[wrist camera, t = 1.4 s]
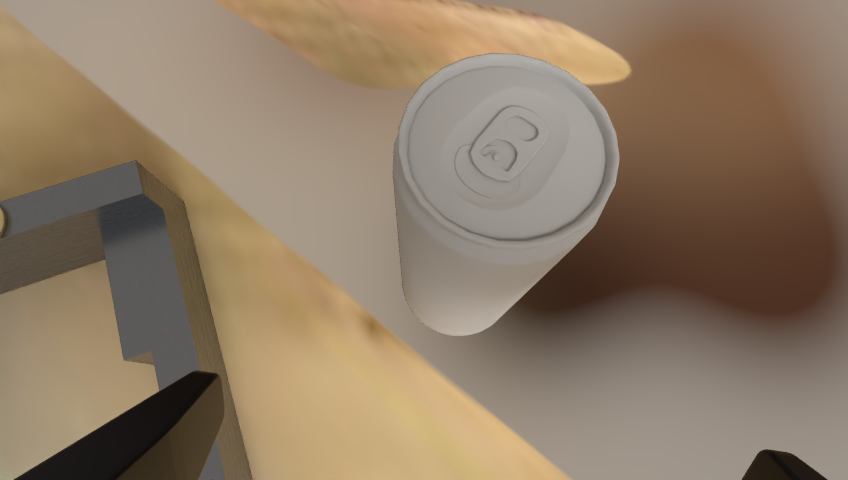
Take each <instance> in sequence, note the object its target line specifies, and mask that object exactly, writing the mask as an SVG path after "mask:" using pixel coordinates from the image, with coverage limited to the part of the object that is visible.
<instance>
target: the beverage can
mask: <svg viewBox="0 0 848 480" xmlns="http://www.w3.org/2000/svg"><path fill="white" fill-rule="evenodd" d="M619 159H620V158H619V151H618V144H617V137H616V132H615V130H614V127H613V125H612V123H611V121H610V118H609V116H608V114H607V112H606V109H605V108H604V107H603V106H602V104H601V103H600V102H599V101H598V99H597V98H596V97H595V96H594V94H593V93H592V92H591V90H590V89H589V88H588V87H586V86H585V85H584V84H583V83H581V82H580V81H579V80H577V79H576V78H575V77H574V76H572V75H571V74H570V73H569V72H567V71H565V70H563V69H561V68H559V67H557V66H554V65H552V64H550V63H548V62H546V61H544V60H540V59H536V58H532V57H528V56H524V55H520V54H504V53H489V54H484V55H478V56H473V57H467V58H464V59H462V60H459V61H457V62H455V63H453V64H450V65H448V66H446V67H444V68H442V69H440V70H439V71H438V72H437V73H435V74H434V75H433V76H431V77H430V78H429V79H428V80H426V81H425V82H424V83H422V85H421V86H420V87H419V89H418V90H417V91H416V93H415V94H414V96H413V97H412V98H411V100H410V101H409V102H408V104H407V106H406V109H405V112H404V115H403V117H402V120H401V123H400V126H399V133H398V135H397V138H396V141H395V144H394V159H393V181H394V193H395V205H396V216H397V227H398V240H399V252H400V263H401V275H402V286H403V290H404V295H405V299H406V301H407V303H408V305H409V307H410V309H411V310H412V312H413V314H414V315H415V316H416V317H417V318H418V319H419V320H420V321H421V322H422V323H423V324H425V325H426V326H428V327H430V328H431V329H433V330H435V331H437V332H440V333H443V334H447V335H451V336H467V335H471V334H475V333H479V332H481V331H483V330H484V329H486V328H488V327H490V326H491V325H493V324H494V323H495V322H496V321H497V320H498V319H499V318H500V317H501V316H502V315H503V314H504V313H505V312H506V311H507V310H508V309H509V308H510V307H512V306H513V305H514V304H515V303H516V302H517V301H518V300H519V299H520V298H521V297H522V296H523V295H524V294H525V293H526V292H527V291H528V290H529V289H530V288H531V287H532V286H533V285H535V283H537V282H538V281H539V280H540V279H541V278H542V277H543V276H544V275H545V274H546V273H547V272H548V271H549V270H550V269H551V268H552V267H553V266H555V265H556V264H557V263H558V262H559V261H560V260H561V259H562V258H563V257H564V256H565V255H566V254H567V253H568V252H569V251H570V250H571V249H572V248H573V247H574V246H575V245H576V244H577V243H578V242H579V241H580V240H581V239H582V238H583V237H584V236H585V235H586V234H587V233H588V232H589V231H590V230H591V229H592V228H593V226H595V224H596V222H597V220H598V218H599V216H600V214H601V212H602V210H603V208H604V206H605V204H606V202H607V199H608V198H609V196H610V194H611V192H612V190H613V188H614V186H615V183H616V177H617V171H618V165H619Z"/></svg>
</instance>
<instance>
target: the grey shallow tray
mask: <svg viewBox="0 0 848 480" xmlns="http://www.w3.org/2000/svg"><path fill="white" fill-rule="evenodd" d="M103 259H106V264H107V270H108V275H109V281H110V286H111V292H112V297H113V303H114V309H115V314H116V320H117V325H118V331H119V336H120V342H121V347H122V353H123V358H124V360H125V361H132V362H139V363H146V364H153V365H155V370H156V375H157V380H158V385H159V390H160V391H161V390H162V389H164V388H166V387H167V386H169V385H170V384H172V383H174V382H175V381H177V380H179V379H180V378H182V377H184V376H185V375H187V374H189V373H190V372H193V371H196V370H200V371H208V372H215V373H218V374H219V375H220V376H221V379H222V386H223V395H224V404H225V414H224V419H223V422H222V425H221V427H220V430H219V432H218V434H217V437H216V439H215V442H214V444H213V446H212V449H211V451H210V454H209V456H208V458H207V461H206V463H205V466H204V468H203V470H202V473H201V475H200V477H199V480H252V476H251V472H250V468H249V464H248V460H247V456H246V452H245V448H244V444H243V440H242V435H241V431H240V427H239V423H238V419H237V415H236V411H235V407H234V403H233V399H232V395H231V391H230V387H229V383H228V379H227V375H226V371H225V367H224V363H223V359H222V355H221V351H220V346H219V342H218V338H217V334H216V330H215V326H214V322H213V318H212V314H211V310H210V306H209V302H208V298H207V294H206V290H205V286H204V282H203V278H202V274H201V270H200V266H199V262H198V258H197V253H196V249H195V245H194V241H193V237H192V233H191V229H190V225H189V221H188V217H187V213H186V209H185V205H184V202H183V201H182V200H181V199H180V198H178V197H177V196H176V195H175V194H174V193H173V192H172V191H170V190H169V189H168V188H167V187H166V186H165V185H164V184H162V183H161V182H160V181H159V180H158V179H157V178H156V177H154V176H153V175H152V174H151V173H150V172H149V171H147V170H146V169H145V168H144V167H143V166H142V165H141V164H139V163H138V162H137V161H136V160H135V161H132V162H128V163H125V164H122V165H119V166H115V167H112V168H109V169H106V170H102V171H99V172H96V173H93V174H90V175H86V176H83V177H80V178H77V179H73V180H70V181H67V182H64V183H60V184H57V185H54V186H51V187H47V188H44V189H41V190H38V191H35V192H31V193H28V194H25V195H22V196H18V197H15V198H12V199H9V200H5V201H2V202H0V294H2V293H5V292H8V291H11V290H14V289H17V288H20V287H23V286H26V285H29V284H32V283H35V282H37V281H40V280H43V279H46V278H49V277H52V276H55V275H58V274H61V273H64V272H67V271H70V270H73V269H76V268H79V267H82V266H85V265H88V264H91V263H94V262H97V261H100V260H103Z"/></svg>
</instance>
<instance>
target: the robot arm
mask: <svg viewBox="0 0 848 480" xmlns="http://www.w3.org/2000/svg"><path fill="white" fill-rule="evenodd" d="M224 414H225V404H224V395H223V386H222V379H221V376H220V375H219V374H218V373H215V372H208V371H200V370H196V371H193V372H190V373H189V374H187V375H185V376H184V377H182V378H180V379H179V380H177V381H175V382H174V383H172V384H170V385H169V386H167V387H166V388H164V389H162V390H161V391H159V392H157V393H156V394H154V395H152V396H151V397H149V398H147V399H146V400H144V401H142V402H141V403H139V404H137V405H136V406H134V407H133V408H131V409H129V410H128V411H126V412H124V413H123V414H121V415H119V416H118V417H116V418H114V419H113V420H111V421H109V422H108V423H106V424H105V425H103V426H101V427H100V428H98V429H96V430H95V431H93V432H91V433H90V434H88V435H86V436H85V437H83V438H81V439H80V440H78V441H77V442H75V443H73V444H72V445H70V446H68V447H67V448H65V449H63V450H62V451H60V452H58V453H57V454H55V455H53V456H52V457H50V458H48V459H47V460H45V461H44V462H42V463H40V464H39V465H37V466H35V467H34V468H32V469H30V470H29V471H27V472H25V473H24V474H22V475H20V476H19V477H17V478H16V479H14V480H199V477H200V475H201V473H202V470H203V468H204V466H205V463H206V461H207V458H208V456H209V454H210V451H211V449H212V446H213V444H214V442H215V439H216V437H217V434H218V432H219V430H220V427H221V425H222V422H223V419H224ZM742 480H827V479H826V478H825V477H823V476H822V475H820V474H819V473H818V472H817V471H815V470H814V469H813V468H811V467H810V466H809V465H807V464H806V463H804V462H803V461H802V460H800V459H799V458H798V457H796V456H795V455H793V454H791V453H788V452H782V451H775V450H768V449H767V450H762V451H760V452H759V453H758V454H757V456H756V457H755V459H754V460H753V462H752V464H751V465H750V467H749V469H748V470H747V472H746V473H745V475H744V477H743V478H742Z"/></svg>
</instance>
